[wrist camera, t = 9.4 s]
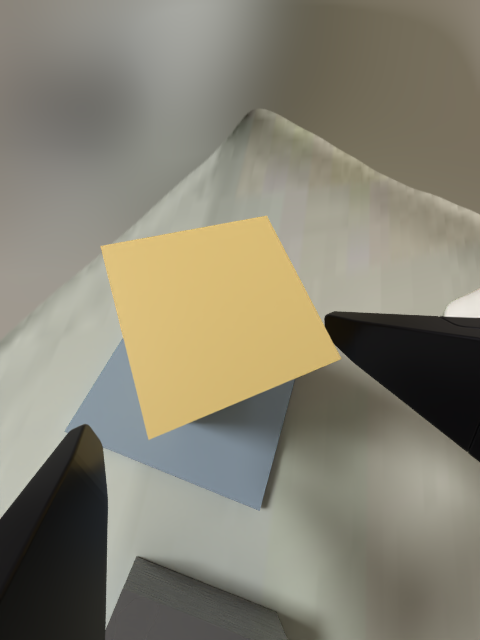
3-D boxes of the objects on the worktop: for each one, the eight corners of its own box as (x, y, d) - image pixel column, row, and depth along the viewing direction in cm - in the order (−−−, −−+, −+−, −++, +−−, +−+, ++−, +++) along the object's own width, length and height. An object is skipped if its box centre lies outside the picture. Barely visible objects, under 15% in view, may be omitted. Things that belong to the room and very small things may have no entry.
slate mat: (305, 332, 19) (308, 330, 18) (257, 507, 14) (259, 510, 14) (166, 273, 19) (165, 269, 18) (69, 430, 14) (64, 431, 13)
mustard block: (249, 393, 16) (341, 359, 6) (181, 421, 15) (148, 439, 4) (225, 331, 17) (266, 215, 7) (161, 352, 16) (101, 246, 6)
